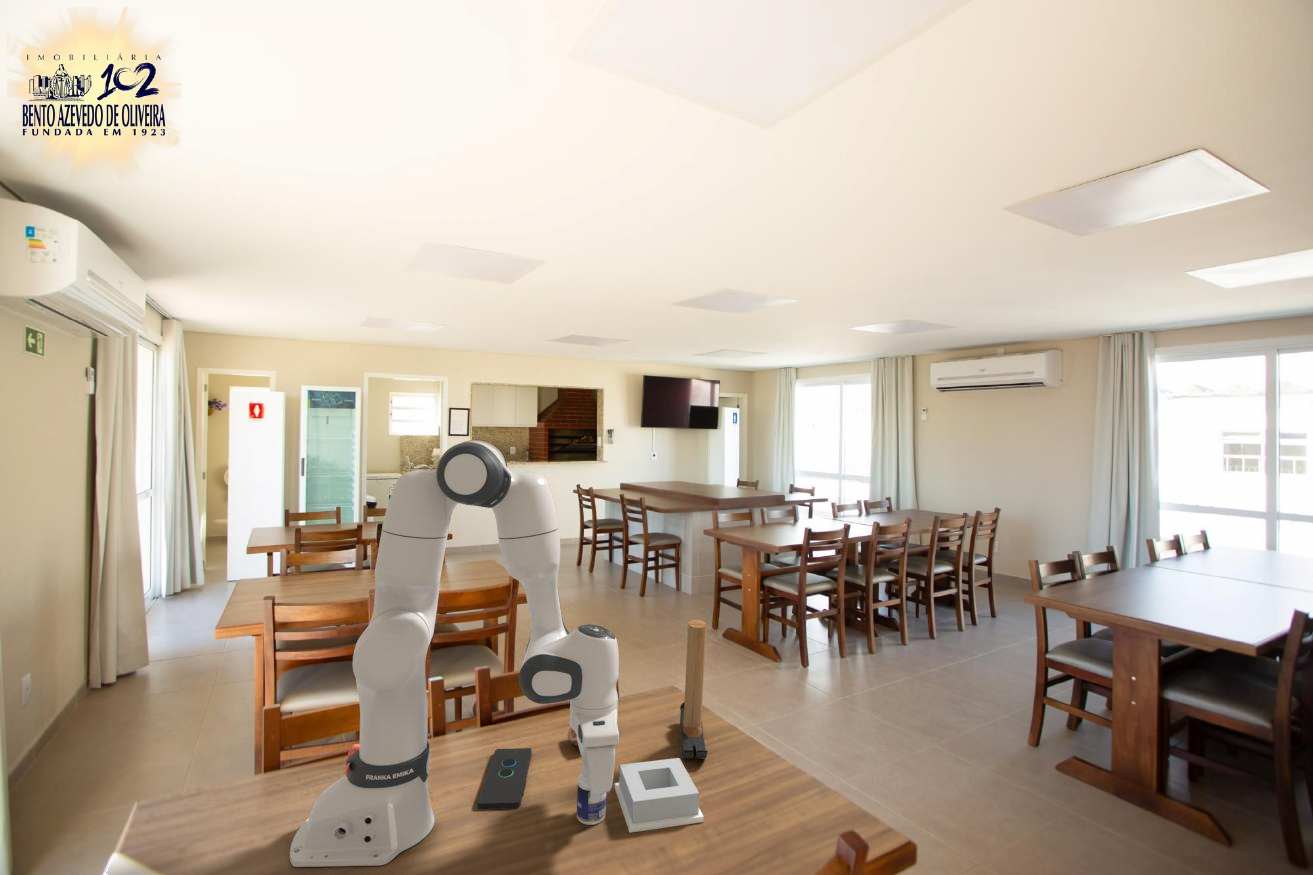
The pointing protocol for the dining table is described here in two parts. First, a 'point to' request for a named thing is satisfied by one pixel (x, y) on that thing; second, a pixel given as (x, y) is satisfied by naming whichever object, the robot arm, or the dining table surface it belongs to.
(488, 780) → the smart home device
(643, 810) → the socket block
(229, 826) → the dining table surface
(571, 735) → the fruit slice
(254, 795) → the dining table surface
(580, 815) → the pill bottle
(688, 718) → the hammer
